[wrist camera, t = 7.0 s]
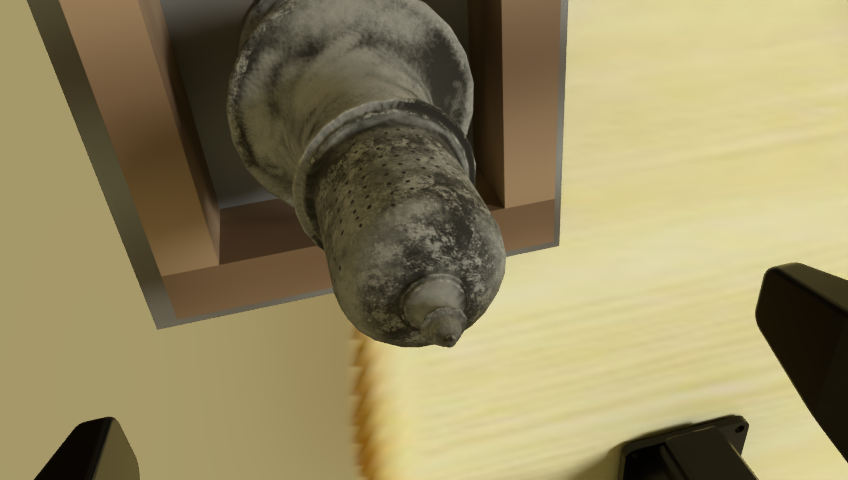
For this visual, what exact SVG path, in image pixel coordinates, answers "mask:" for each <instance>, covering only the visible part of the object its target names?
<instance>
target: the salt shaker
mask: <svg viewBox="0 0 848 480" xmlns="http://www.w3.org/2000/svg"><path fill="white" fill-rule="evenodd" d="M473 88H474V82H473V79H472V75H471V71H470V67H469V63H468V59H467V55H466V53H465V51H464V49H463V47H462V46H461V44H460V42H459V41H458V39H457V37H456V35H455V34H454V32H453V30H452V29H451V27H450V26H449V25H448V24H447V23H446V22H445V21H444V20H443V19H442V18H441V17H440V16H439V15H438V14H437V13H436V12H434V11H433V10H432V9H431V8H430V7H429V6H428V5H427V4H426V3H424V2H422V1H420V0H258V1H257V2H256V3H255V5H254V6H253V7H252V8H251V10H250V11H249V14H248V16H247V19H246V21H245V24H244V26H243V29H242V31H241V34H240V39H239V49H238V57H237V59H236V62H235V64H234V67H233V69H232V72H231V74H230V77H229V88H228V98H227V108H226V110H227V116H228V121H229V126H230V131H231V137H232V141H233V143H234V145H235V147H236V149H237V151H238V153H239V155H240V157H241V159H242V161H243V163H244V165H245V167H246V169H247V170H248V171H249V172H250V173H251V174H252V175H253V176H254V177H255V179H256V180H257V181H258V182H259V183H260V184H261V185H262V186H263V187H264V188H265V189H266V190H267V191H268V192H269V193H271V194H273V195H274V196H276V197H277V198H279V199H281V200H282V201H284V202H285V203H287V204H288V205H290V206H292V207H294V209H295V213H296V215H297V217H298V219H299V222H300V224H301V226H302V228H303V230H304V232H305V233H306V234H307V235H308V236H309V237H310V238H311V240H312V241H313V242H314V243H315V244H316V245H317V246H318V247H319V248H321V249H322V250H324V251H325V255H326V260H327V264H328V269H329V273H330V278H331V282H332V287H333V291H334V294H335V296H336V298H337V301H338V303H339V305H340V307H341V309H342V311H343V312H344V314H345V315H346V317H347V318H348V320H349V321H350V322H351V323H352V324H353V325H354V326H355V327H356V328H357V329H358V330H359V331H360V332H362V333H363V334H365V335H367V336H369V337H371V338H372V339H374V340H376V341H380V342H384V343H388V344H392V345H396V346H399V347H423V346H428V345H434V344H435V345H438V346H442V347H453V346H454V345H455V344H456V342H457V341H458V340H459V338H460V337H461V335H462V333H463V332H464V330H466V329H468V328H469V327H471V326H472V325H473V324H474V323H475V322H476V321H477V320H478V319H479V318H480V317H481V316H482V315H483V314H484V313H485V311H486V310H487V308H488V307H489V305H490V304H491V302H492V301H493V299H494V298H495V296H496V294H497V292H498V291H499V288H500V285H501V282H502V280H503V277H504V274H505V262H506V253H505V248H504V243H503V239H502V235H501V231H500V227H499V225H498V224H497V222H496V220H495V219H494V217H493V216H492V214H491V213H490V211H489V209H488V208H487V206H486V205H485V203H484V201H483V200H482V198H481V197H480V195H479V194H478V192H477V190H476V189H475V176H476V162H475V159H474V155H473V151H472V147H471V143H470V142H469V140H468V139H467V137H466V136H467V132H468V129H469V125H470V122H471V118H472V114H473Z"/></svg>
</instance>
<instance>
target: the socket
mask: <svg viewBox="0 0 848 480" xmlns="http://www.w3.org/2000/svg"><path fill="white" fill-rule="evenodd" d="M257 1H258V0H27V2H28V4H29V7H30V9H31V12H32V14H33V17H34V20H35V22H36V25H37V27H38V30H39V32H40V34H41V37H42V39H43V42H44V45H45V47H46V50H47V52H48V55H49V57H50V60H51V62H52V65H53V67H54V70H55V73H56V75H57V78H58V80H59V82H60V85H61V88H62V90H63V93H64V95H65V98H66V100H67V103H68V105H69V107H70V110H71V113H72V115H73V118H74V120H75V123H76V125H77V128H78V131H79V133H80V135H81V138H82V141H83V143H84V146H85V148H86V151H87V153H88V156H89V158H90V161H91V163H92V166H93V168H94V171H95V173H96V176H97V178H98V181H99V183H100V186H101V189H102V191H103V193H104V196H105V199H106V201H107V204H108V206H109V209H110V211H111V214H112V216H113V219H114V221H115V224H116V226H117V229H118V231H119V234H120V236H121V239H122V242H123V244H124V247H125V249H126V251H127V254H128V257H129V259H130V262H131V264H132V267H133V269H134V272H135V274H136V277H137V279H138V282H139V284H140V287H141V289H142V292H143V294H144V297H145V299H146V302H147V305H148V307H149V309H150V312H151V315H152V317H153V320H154V322H155V325H156V327H157V329H162V328H167V327H172V326H177V325H182V324H186V323H191V322H196V321H200V320H206V319H210V318H215V317H220V316H225V315H229V314H234V313H239V312H244V311H249V310H253V309H258V308H263V307H268V306H272V305H277V304H282V303H287V302H292V301H297V300H301V299H306V298H310V297H316V296H320V295H325V294H330V293H334V291H333V287H332V282H331V278H330V273H329V269H328V264H327V260H326V255H325V251H324V250H322V249H321V248H319V247H318V246H317V245H316V244H315V243H314V242H313V241H312V240H311V238H310V237H309V236H308V235H307V234H306V233H305V232H304V230H303V228H302V226H301V224H300V222H299V219H298V217H297V215H296V213H295V209H294V207H292V206H290V205H288V204H287V203H285V202H284V201H282V200H281V199H279V198H277V197H276V196H274V195H273V194H271V193H269V192H268V191H267V190H266V189H265V188H264V187H263V186H262V185H261V184H260V183H259V182H258V181H257V180H256V179H255V177H254V176H253V175H252V174H251V173H250V172H249V171H248V170H247V169H246V167H245V165H244V163H243V161H242V159H241V157H240V155H239V153H238V151H237V149H236V147H235V145H234V143H233V141H232V137H231V131H230V126H229V121H228V116H227V110H226V108H227V98H228V88H229V77H230V74H231V72H232V69H233V67H234V64H235V62H236V59H237V57H238V49H239V39H240V34H241V31H242V29H243V26H244V24H245V21H246V19H247V16H248V14H249V11H250V10H251V8H252V7H253V6H254V5H255V3H256V2H257ZM420 1H422V2H424V3H426V4H427V5H428V6H429V7H430V8H431V9H432V10H433V11H434V12H436V13H437V14H438V15H439V16H440V17H441V18H442V19H443V20H444V21H445V22H446V23H447V24H448V25H449V26H450V27H451V29H452V30H453V32H454V34H455V35H456V37H457V39H458V41H459V42H460V44H461V46H462V47H463V49H464V51H465V53H466V55H467V59H468V63H469V67H470V71H471V75H472V79H473V82H474V88H473V114H472V118H471V122H470V125H469V129H468V132H467V136H466V137H467V139H468V140H469V142H470V143H471V147H472V151H473V155H474V159H475V162H476V176H475V189H476V190H477V192H478V194H479V195H480V197H481V198H482V200H483V201H484V203H485V205H486V206H487V208H488V209H489V211H490V213H491V214H492V216H493V217H494V219H495V220H496V222H497V224H498V225H499V227H500V231H501V235H502V239H503V243H504V248H505V253H506V257H508V256H512V255H517V254H522V253H527V252H532V251H536V250H541V249H546V248H551V247H556V246H559V235H560V208H561V181H562V154H563V127H564V100H565V72H566V45H567V18H568V0H420Z"/></svg>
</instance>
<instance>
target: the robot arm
mask: <svg viewBox="0 0 848 480" xmlns="http://www.w3.org/2000/svg"><path fill="white" fill-rule="evenodd" d="M755 318H756V322H757V325H758V327H759V329H760V331H761V333H762V334H763V336H764V338H765V339H766V341H767V342H768V344H769V346H770V347H771V349H772V351H773V352H774V354H775V356H776V357H777V359H778V361H779V362H780V364H781V366H782V367H783V369H784V370H785V372H786V374H787V375H788V377H789V379H790V380H791V382H792V384H793V385H794V387H795V389H796V390H797V392H798V393H799V395H800V397H801V398H802V400H803V402H804V403H805V405H806V406H807V408H808V409H809V411H810V412H811V414H812V415H813V417H814V418H815V420H816V421H817V422H818V424H819V425H820V427H821V428H822V429H823V431H824V432H825V433H826V435H827V436H828V437H829V439H830V440H831V441H832V443H833V444H834V445H835V447H836V448H837V449H838V451H839V452H840V453H841V455H842V456H843V457H844V459H845V460H846V461H847V463H848V280H845V279H843V278H840V277H837V276H834V275H831V274H829V273H826V272H823V271H820V270H818V269H815V268H812V267H809V266H807V265H804V264H801V263H796V262H795V263H788V264H783V265H779V266H774V267H771V268H769V269H768V270H767V271H766V273H765V274H764V277H763V281H762V285H761V289H760V293H759V297H758V301H757V305H756V310H755ZM748 428H749V424H748V422H747V421H746V420H745V419H744V418H743V416H735V417H731V418H727V419H723V420H719V421H715V422H711V423H707V424H704V425H700V426H696V427H692V428H688V429H684V430H680V431H676V432H673V433H669V434H665V435H661V436H657V437H653V438H649V439H645V440H641V441H638V442H634V443H630V444H628V445H627V446H625V447H624V448H623V449H622V452H621V459H620V467H619V475H618V480H759V479H758V478H757V477H756V475H755V474H754V473H753V471H752V470H751V469H750V468H749V466H748V465H747V464H746V462H745V461H744V460H743V458H742V457H741V454H742V450H743V446H744V443H745V439H746V435H747V432H748ZM139 476H140V475H139V467H138V463H137V459H136V457H135V454H134V452H133V450H132V448H131V446H130V444H129V442H128V440H127V438H126V436H125V434H124V432H123V430H122V428H121V426H120V424H119V422H118V421H117V420H116V419H115V418H113V417H104V418H100V419H95V420H91V421H87V422H83V423H81V424H79V425H78V426H76V427H75V429H74V430H73V431H72V432H71V433H70V435H69V436H68V437H67V438H66V440H65V441H64V442H63V443H62V445H61V446H60V447H59V449H58V450H57V451H56V453H55V454H54V455H53V456H52V458H51V459H50V460H49V461H48V463H47V464H46V465H45V466H44V468H43V469H42V470H41V472H40V473H39V474H38V475H37V476H36V478H35V479H34V480H140V477H139Z"/></svg>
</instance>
